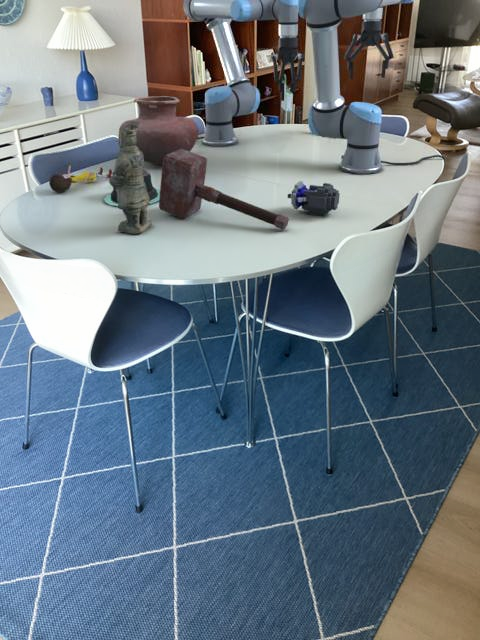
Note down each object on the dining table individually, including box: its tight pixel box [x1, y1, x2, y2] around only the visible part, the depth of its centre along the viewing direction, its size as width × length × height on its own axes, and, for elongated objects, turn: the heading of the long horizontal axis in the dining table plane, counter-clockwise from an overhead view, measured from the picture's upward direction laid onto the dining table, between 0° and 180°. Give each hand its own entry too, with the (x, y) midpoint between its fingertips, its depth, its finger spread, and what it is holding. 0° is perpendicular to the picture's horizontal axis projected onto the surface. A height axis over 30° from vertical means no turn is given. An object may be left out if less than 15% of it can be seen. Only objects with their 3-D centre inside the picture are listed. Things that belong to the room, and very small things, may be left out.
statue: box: [108, 121, 153, 235], centre depth 154 cm, size 11×9×30 cm
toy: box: [287, 180, 341, 216], centre depth 168 cm, size 9×9×15 cm
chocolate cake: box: [103, 168, 160, 207], centre depth 186 cm, size 15×19×20 cm
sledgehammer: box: [158, 149, 290, 231], centre depth 163 cm, size 17×10×40 cm
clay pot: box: [118, 95, 200, 166], centre depth 218 cm, size 30×30×25 cm
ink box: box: [280, 73, 294, 113], centre depth 229 cm, size 3×10×14 cm, turn 6°
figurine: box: [48, 164, 113, 193], centre depth 199 cm, size 13×8×25 cm
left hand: (287, 99), depth 230 cm, fingers closed on ink box, 3 cm apart
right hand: (366, 78), depth 231 cm, fingers open, 13 cm apart
